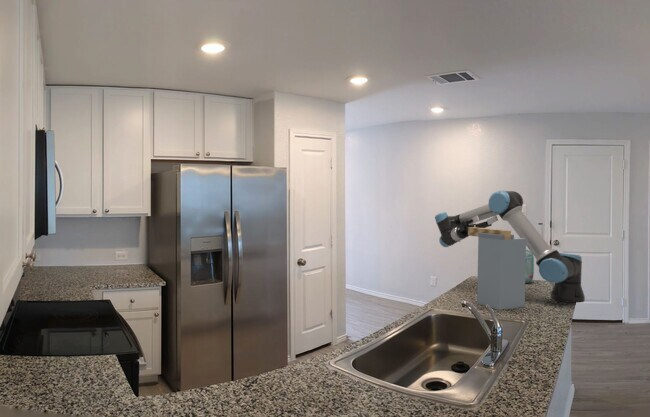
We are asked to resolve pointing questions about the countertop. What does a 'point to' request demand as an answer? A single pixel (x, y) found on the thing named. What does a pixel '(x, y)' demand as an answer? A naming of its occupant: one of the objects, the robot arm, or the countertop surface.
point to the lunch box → (529, 266)
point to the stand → (501, 271)
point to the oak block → (489, 232)
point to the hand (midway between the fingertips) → (487, 217)
